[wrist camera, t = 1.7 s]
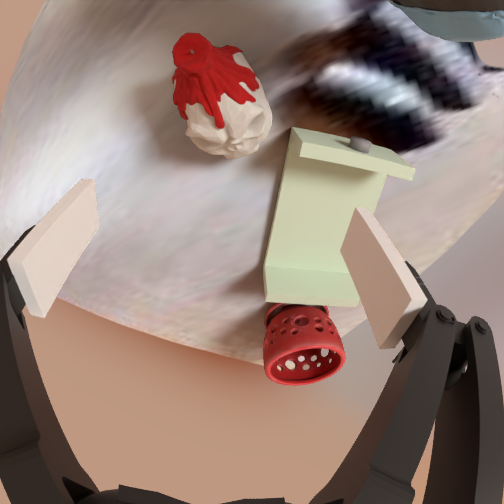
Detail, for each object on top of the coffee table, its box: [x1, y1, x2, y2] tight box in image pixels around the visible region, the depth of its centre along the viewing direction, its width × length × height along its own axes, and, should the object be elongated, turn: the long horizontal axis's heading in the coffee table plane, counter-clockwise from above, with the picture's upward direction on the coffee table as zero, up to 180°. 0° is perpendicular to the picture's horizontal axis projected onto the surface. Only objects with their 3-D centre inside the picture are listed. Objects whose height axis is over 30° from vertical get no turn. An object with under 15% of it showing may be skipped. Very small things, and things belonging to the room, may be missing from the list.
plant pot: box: [263, 303, 345, 386], centre depth 49 cm, size 13×13×12 cm
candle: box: [172, 33, 272, 159], centre depth 26 cm, size 9×11×15 cm
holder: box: [263, 127, 416, 307], centre depth 38 cm, size 25×14×7 cm, turn 172°
